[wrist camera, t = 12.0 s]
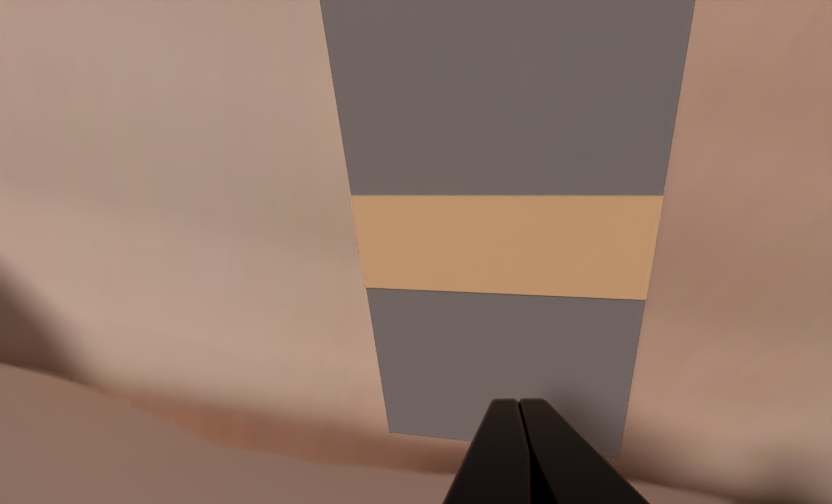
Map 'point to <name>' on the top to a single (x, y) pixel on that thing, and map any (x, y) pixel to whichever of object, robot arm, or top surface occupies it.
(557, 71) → the flap lid
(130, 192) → the top surface
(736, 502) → the top surface
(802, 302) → the top surface
